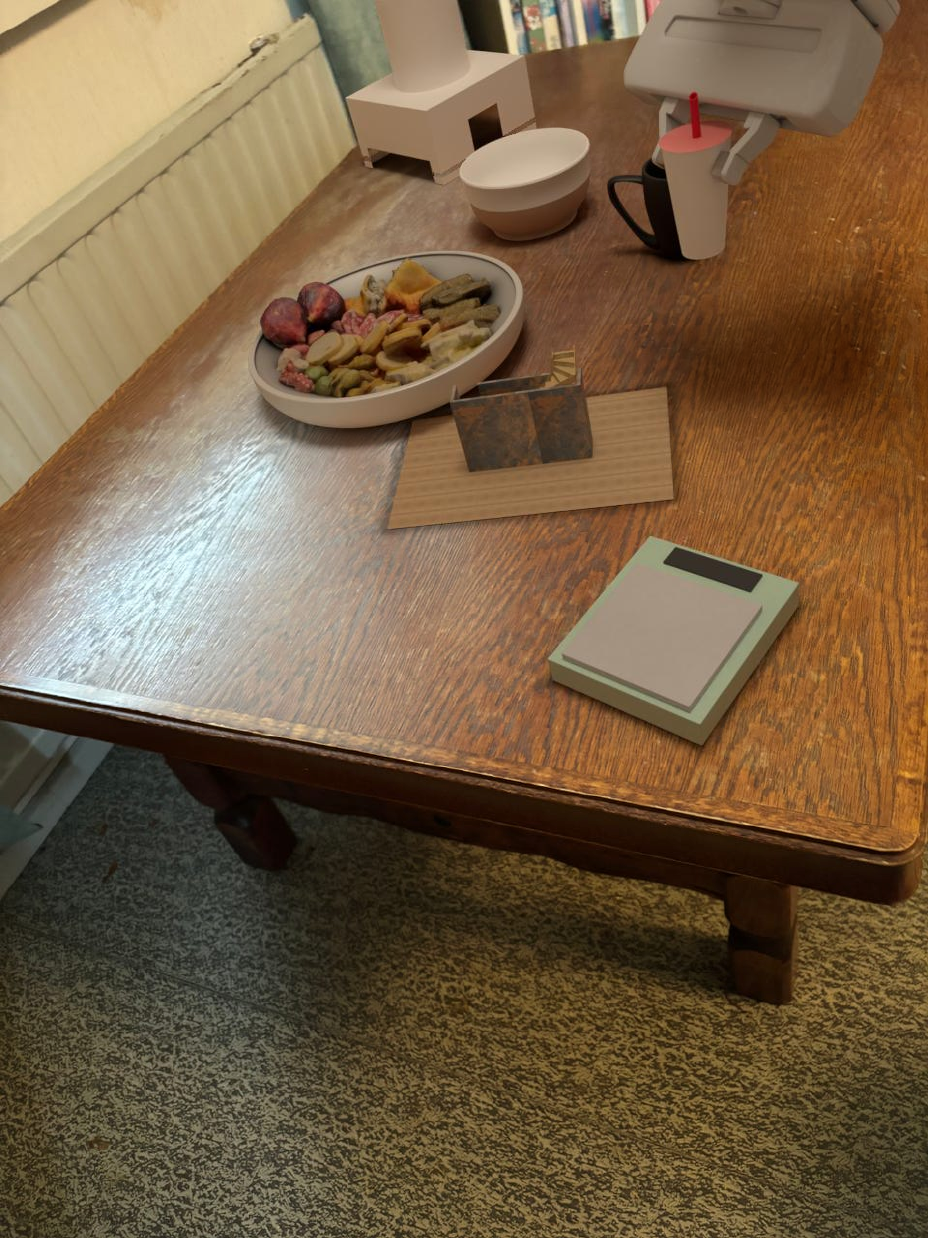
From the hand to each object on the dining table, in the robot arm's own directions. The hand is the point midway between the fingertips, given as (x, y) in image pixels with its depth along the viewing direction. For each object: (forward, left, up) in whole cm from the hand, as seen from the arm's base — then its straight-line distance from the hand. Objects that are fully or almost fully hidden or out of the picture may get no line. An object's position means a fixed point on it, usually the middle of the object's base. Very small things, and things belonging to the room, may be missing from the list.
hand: (692, 173), depth 73 cm
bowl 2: (+39, -27, -21) cm, 52 cm away
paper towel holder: (+67, -44, -21) cm, 83 cm away
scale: (-12, +27, -21) cm, 36 cm away
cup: (0, -1, -7) cm, 7 cm away
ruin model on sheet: (+11, +13, -21) cm, 27 cm away
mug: (+18, -24, -21) cm, 37 cm away
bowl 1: (+35, +5, -21) cm, 41 cm away
